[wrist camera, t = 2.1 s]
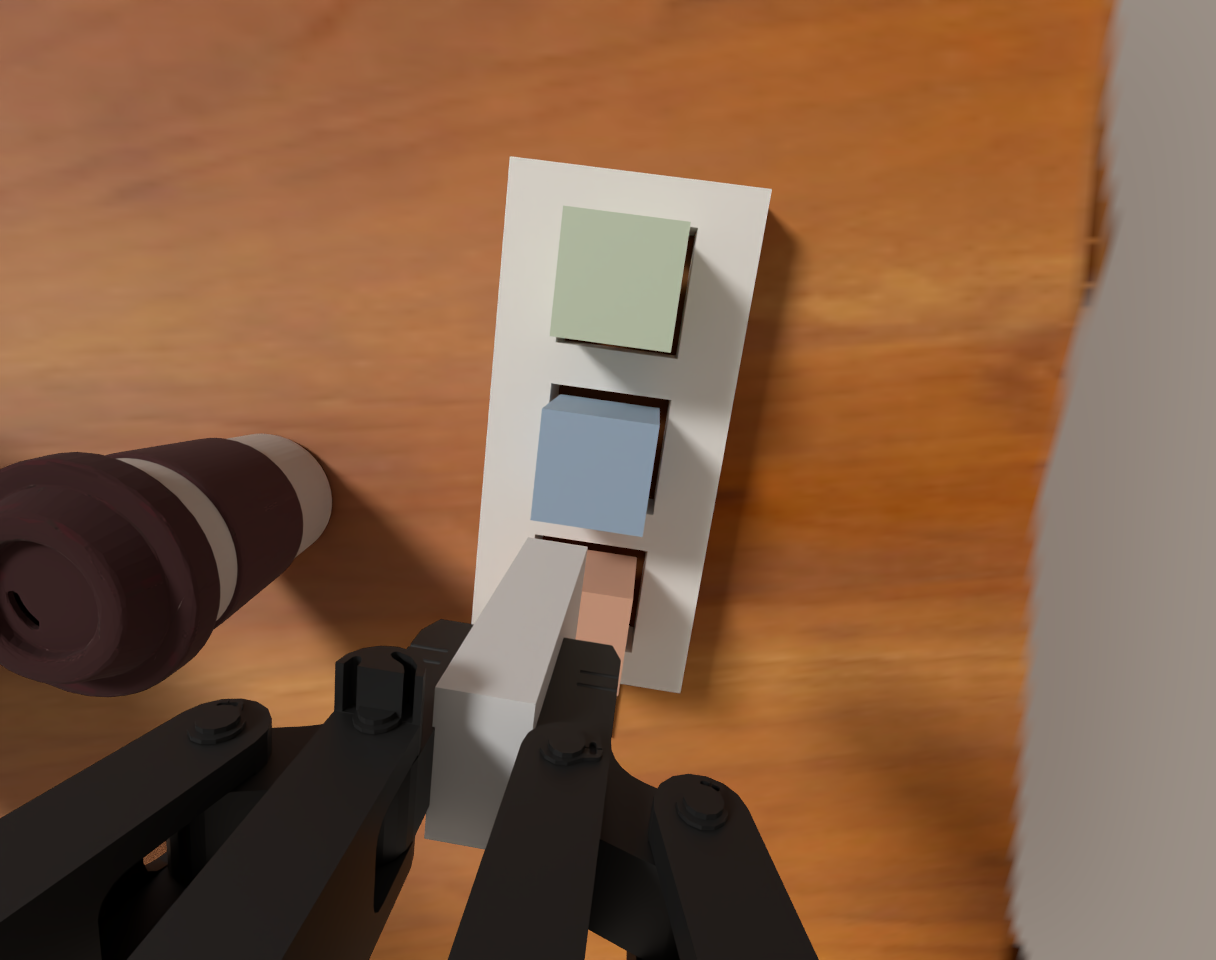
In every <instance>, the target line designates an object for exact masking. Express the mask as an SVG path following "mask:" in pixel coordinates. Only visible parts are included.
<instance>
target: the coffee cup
mask: <svg viewBox="0 0 1216 960" xmlns="http://www.w3.org/2000/svg"><path fill="white" fill-rule="evenodd" d="M331 510H332V495H331V489H330V485H329V482H328V479H327V477H326V474H325V473H324V471H323V469H322V467H321V466H320V464H319V463H318V462H317V461H316V459H315V458H314V457H313V456H312V455H311V454H310V453H309V452H308V451H307V450H305V449H304V448H303V447H301V446H300V445H298V444H297V443H295V442H293V441H291V440H289V439H286V438H283V437H280V436H277V435H270V434H252V435H246V436H240V437H234V438H229V439H222V438H206V439H198V440H192V441H186V442H180V443H174V444H168V445H161V446H155V447H149V448H143V449H137V450H131V451H125V452H119V453H113V454H109V455H105V456H104V455H100V454H92V453H82V452H69V453H58V454H52V455H47V456H43V457H38V458H34V459H30V460H25V461H21V462H18V463H14V464H12V465H9V466H7V467H4V468H2V469H0V664H1V665H2V666H4V667H5V668H7V669H8V670H10V671H12V672H14V673H16V674H18V675H21V676H23V677H26V678H29V679H32V680H35V681H38V682H43V683H47V684H49V685H52V686H54V687H57V688H60V689H62V690H65V691H67V692H72V693H77V694H81V695H86V696H96V697H116V696H125V695H130V694H134V693H138V692H141V691H144V690H147V689H149V688H151V687H153V686H154V685H156V684H158V683H160V682H161V681H163V680H165V679H166V678H167V677H169V676H170V675H172V674H173V673H174V672H176V671H177V670H178V669H180V668H181V667H182V666H184V665H185V664H187V663H188V662H189V661H190V660H191V659H192V658H194V657H195V656H196V655H197V653H198V652H199V651H200V650H201V649H202V647H203V646H204V645H205V643H206V642H207V640H208V638H209V637H210V635H211V633H212V631H213V629H215V628H216V627H218V626H219V625H220V624H222V623H223V622H224V621H225V620H227V619H228V618H229V617H230V616H231V615H233V614H234V613H235V612H236V611H237V610H239V609H240V608H241V607H242V606H243V605H245V604H246V603H247V602H248V601H249V600H251V599H252V598H253V597H254V596H255V595H257V594H258V593H259V592H260V591H262V590H263V589H264V588H265V587H266V586H268V585H269V584H270V583H271V582H272V581H274V580H275V579H276V578H277V577H278V576H280V575H281V574H282V573H283V572H284V571H285V570H286V569H287V568H288V567H289V566H290V564H291V563H292V562H293V560H294V558H295V557H297V556H298V555H299V554H300V553H301V552H303V551H304V550H305V549H306V548H308V547H309V546H310V545H311V544H313V543H314V542H315V541H316V540H317V539H318V538H319V537H320V535H321V534H322V533H323V531H324V529H325V528H326V526H327V524H328V522H329V518H330V515H331Z"/></svg>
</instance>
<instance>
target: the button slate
mask: <svg viewBox="0 0 1216 960" xmlns="http://www.w3.org/2000/svg"><path fill="white" fill-rule="evenodd" d="M659 426H660V408H655V407H648V406H641V405H634V404H627V403H620V402H612V401H605V400H598V399H591V398H584V397H577V396H570V395H563V394H560V395H559V396H558V397H556V398H555V399H554V400H552V401H551V402H550V403H548V404H547V405H546V406H545V407H543V408H542V413H541V423H540V433H539V442H538V452H537V461H536V471H535V481H534V490H533V500H532V509H531V519H530V520H533V521H539V522H546V523H553V524H559V525H566V526H572V527H579V528H586V529H592V530H599V531H606V532H612V533H619V534H626V535H632V536H639V537H643V531H644V524H645V518H646V511H647V505H648V498H649V492H650V485H651V479H652V472H653V466H654V459H655V453H656V446H657V440H658V433H659Z"/></svg>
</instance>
